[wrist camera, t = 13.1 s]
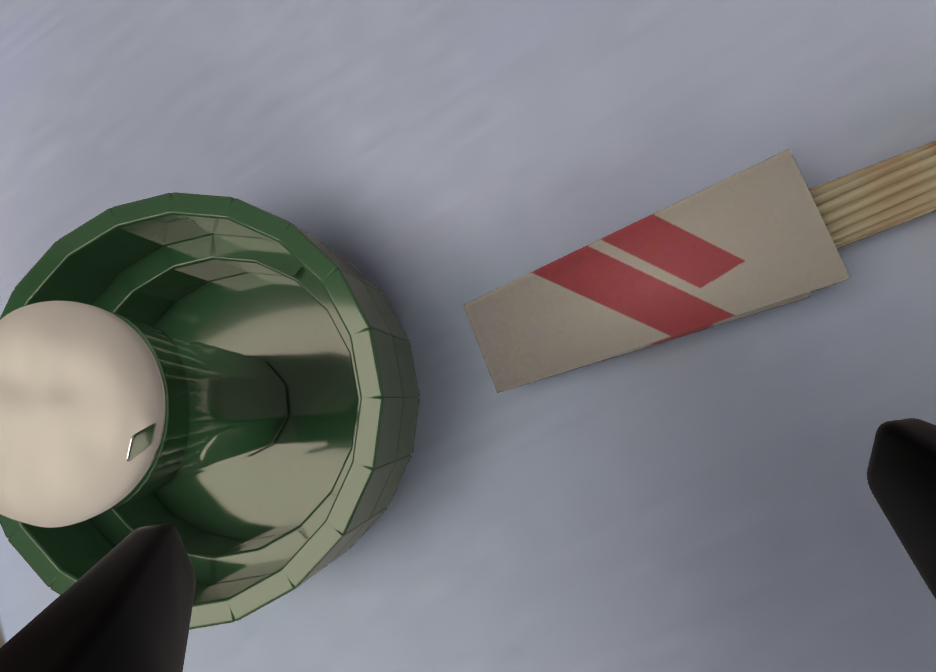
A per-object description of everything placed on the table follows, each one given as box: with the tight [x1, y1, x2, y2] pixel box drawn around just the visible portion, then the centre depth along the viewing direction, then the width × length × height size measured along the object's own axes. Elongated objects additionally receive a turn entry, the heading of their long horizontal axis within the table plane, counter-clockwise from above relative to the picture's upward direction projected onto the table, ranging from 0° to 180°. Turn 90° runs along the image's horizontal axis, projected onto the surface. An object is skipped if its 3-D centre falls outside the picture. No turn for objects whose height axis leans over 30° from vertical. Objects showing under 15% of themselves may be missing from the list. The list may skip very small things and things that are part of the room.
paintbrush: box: [464, 141, 936, 393], centre depth 19 cm, size 4×3×20 cm
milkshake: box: [0, 301, 288, 528], centre depth 16 cm, size 5×5×10 cm
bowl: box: [0, 193, 419, 630], centre depth 20 cm, size 11×11×5 cm
